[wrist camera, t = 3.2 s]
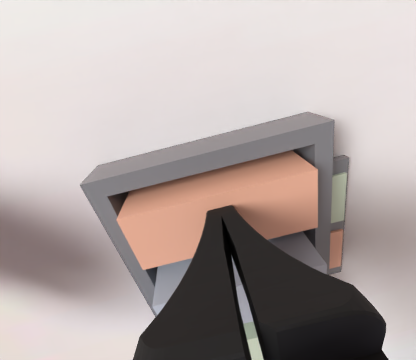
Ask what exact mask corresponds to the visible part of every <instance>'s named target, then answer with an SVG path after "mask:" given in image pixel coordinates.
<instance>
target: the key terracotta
mask: <svg viewBox="0 0 416 360" xmlns="http://www.w3.org/2000/svg"><path fill="white" fill-rule="evenodd" d="M229 205H232V206H234V208H235V209H236V211H237V212H238V213H239V214H240V215H241V216H242V218H243V219H244V220H245V221H246V222H247V223H248V224H249V225H250V226H251V227H253V228H254V229H255V230H256V231H257V232H258V233H259V234H261V235H262V236H263V237H264V238H265V239H267V240H268V239H272V238H276V237H280V236H284V235H289V234H293V233H297V232H301V231H305V230H309V229H313V228H317V227H318V169H317V168H315V167H314V166H312V165H311V164H310V163H308V162H307V161H306V160H304V159H303V158H301V157H300V156H299V155H297V154H296V153H295V152H293V151H292V150H290V151H286V152H282V153H278V154H274V155H270V156H266V157H262V158H258V159H254V160H250V161H246V162H242V163H238V164H234V165H230V166H226V167H222V168H218V169H214V170H210V171H206V172H202V173H198V174H194V175H191V176H187V177H183V178H179V179H175V180H171V181H167V182H163V183H159V184H155V185H151V186H147V187H143V188H139V189H135V190H131V191H130V192H129V194H128V196H127V198H126V200H125V202H124V204H123V206H122V209H121V211H120V213H119V215H118V217H117V219H116V220H117V222H118V224H119V226H120V228H121V230H122V232H123V234H124V235H125V237H126V239H127V241H128V243H129V245H130V247H131V249H132V251H133V252H134V254H135V256H136V258H137V260H138V262H139V264H140V266H141V267H142V269H143V270H146V269H150V268H154V267H158V266H162V265H166V264H170V263H174V262H178V261H182V260H186V259H190V258H193V256H194V254H195V252H196V249H197V246H198V244H199V241H200V238H201V235H202V232H203V228H204V224H205V220H206V213H207V211H209V210H213V209H217V208H221V207H225V206H229Z"/></svg>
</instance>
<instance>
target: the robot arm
mask: <svg viewBox="0 0 416 360" xmlns="http://www.w3.org/2000/svg"><path fill="white" fill-rule="evenodd" d="M231 255H232V256H231ZM232 258H233V261H234V264H235V266H236V269H237V272H238V275H239V278H240V280H241V283H242V286H243V289H244V291H245V294H246V297H247V300H248V303H249V307H250V311H251V314H252V318H253V322H254V326H255V329H256V333H257V337H258V341H259V344H260V348H261V352H262V356H263V359H264V360H388V358H387V357H386V355H385V354H384V353H383V351H382V350H381V349H382V345H383V341H384V337H385V333H386V323H385V321H384V319H383V317H382V316H381V315H380V314H379V312H378V311H377V310H376V309H375V307H374V306H373V305H372V304H371V303H370V302H369V301H368V300H367V299H366V298H365V297H364V296H363V295H362V294H361V293H360V292H359V291H358V290H357V289H356V288H355V287H354V286H353V285H351V284H349V283H346V282H344V281H342V280H339V279H337V278H334V277H332V276H329V275H327V274H324V273H322V272H320V271H318V270H316V269H314V268H312V267H310V266H308V265H306V264H304V263H303V262H301V261H299V260H297V259H295V258H294V257H292V256H290V255H288V254H287V253H285V252H284V251H282V250H281V249H279V248H278V247H276V246H275V245H273V244H272V243H271V242H269V241H268V240H267V239H265V238H264V237H263V236H262V235H261V234H259V233H258V232H257V231H256V230H255V229H254V228H253V227H251V226H250V225H249V224H248V223H247V222H246V221H245V220H244V219H243V218H242V216H241V215H240V214H239V213H238V212H237V211H236V209H235V208H234V206H232V205H229V206H225V207H221V208H217V209H213V210H209V211H207V213H206V220H205V224H204V228H203V232H202V235H201V238H200V241H199V244H198V246H197V249H196V252H195V254H194V256H193V259H192V261H191V263H190V265H189V267H188V269H187V271H186V273H185V274H184V276H183V278H182V280H181V281H180V283H179V285H178V286H177V288H176V290H175V291H174V293H173V294H172V295H171V297H170V298H169V300H168V301H167V303H166V304H165V306H164V307H163V308H162V310H161V311H160V312H159V314H158V315H157V316H156V317H155V319H154V320H153V321H152V322H151V324H150V325H149V326H148V327H147V329H146V330H145V331H144V332H143V333H142V334H141V336H140V337H139V341H138V344H137V348H136V351H135V355H134V358H133V360H252V358H251V354H250V350H249V345H248V341H247V337H246V333H245V329H244V324H243V320H242V316H241V311H240V307H239V302H238V297H237V290H236V283H235V276H234V269H233V263H232Z"/></svg>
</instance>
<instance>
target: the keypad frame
mask: <svg viewBox="0 0 416 360" xmlns="http://www.w3.org/2000/svg"><path fill="white" fill-rule="evenodd" d="M333 146H334V120H332V119H329V118H326V117H323V116H319V115H316V114H313V113H310V112H306V113H302V114H298V115H294V116H290V117H286V118H282V119H278V120H274V121H270V122H266V123H262V124H259V125H255V126H251V127H247V128H243V129H239V130H235V131H231V132H227V133H223V134H219V135H216V136H212V137H208V138H204V139H200V140H196V141H192V142H188V143H184V144H180V145H176V146H172V147H169V148H165V149H161V150H157V151H153V152H149V153H145V154H141V155H137V156H133V157H129V158H126V159H122V160H118V161H114V162H110V163H106V164H102V165H98V166H97V167H96V168H95V169H94V170H93V171H92V172H91V174H90V175H89V176H88V177H87V178H86V179H85V180H84V181H83V182H82V183H81V184H80V186H81V188H82V190H83V192H84V193H85V195H86V197H87V199H88V200H89V202H90V204H91V206H92V207H93V209H94V211H95V212H96V214H97V216H98V218H99V219H100V221H101V223H102V225H103V226H104V228H105V230H106V232H107V233H108V235H109V237H110V239H111V240H112V242H113V244H114V246H115V247H116V249H117V251H118V252H119V254H120V256H121V258H122V259H123V261H124V263H125V265H126V266H127V268H128V270H129V272H130V273H131V275H132V277H133V279H134V280H135V282H136V284H137V286H138V287H139V289H140V291H141V293H142V294H143V296H144V298H145V299H146V301H147V303H148V305H149V306H150V308H151V310H152V312H153V313H154V315H155V317H156V316H157V314H156V312H155V310H154V309H153V307H152V305H153V298H154V291H155V284H156V277H157V269H158V267H154V268H150V269H146V270H143V269H142V267H141V266H140V264H139V262H138V260H137V258H136V256H135V254H134V252H133V251H132V249H131V247H130V245H129V243H128V241H127V239H126V237H125V235H124V234H123V232H122V230H121V228H120V226H119V224H118V222H117V220H116V219H117V217H118V215H119V213H120V211H121V209H122V206H123V204H124V202H125V200H126V198H127V196H128V194H129V193H128V191H131V190H135V189H139V188H143V187H147V186H151V185H155V184H159V183H163V182H167V181H171V180H175V179H179V178H183V177H187V176H191V175H194V174H198V173H202V172H206V171H210V170H214V169H218V168H222V167H226V166H230V165H234V164H238V163H242V162H246V161H250V160H254V159H258V158H262V157H266V156H270V155H274V154H278V153H282V152H286V151H290V150H294V152H295V153H296V154H297V155H299V156H300V157H301V158H303V159H304V160H306V161H307V162H308V163H310V164H311V165H312V166H314V167H315V168H317V169H318V227H317V228H313V229H309V230H305V231H303V233H304V234H305V235H306V237H307V238H308V239H309V241H310V242H311V243H312V245H313V246H314V247H315V249H316V250H317V252H318V253H319V254H320V256H321V257H322V258H323V260H324V261H325V262H326V264H327V275H329V263H330V234H331V204H332V175H333Z"/></svg>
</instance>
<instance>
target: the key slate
mask: <svg viewBox="0 0 416 360" xmlns="http://www.w3.org/2000/svg"><path fill="white" fill-rule="evenodd" d="M268 241H269V242H271V243H272V244H273V245H275V246H276V247H278V248H279V249H281V250H282V251H284V252H285V253H287V254H288V255H290V256H292V257H294V258H295V259H297V260H299V261H301V262H303V263H304V264H306V265H308V266H310V267H312V268H314V269H316V270H318V271H320V272H322V273H324V274H327V264H326V262H325V261H324V260H323V258H322V257H321V256H320V254H319V253H318V252H317V250H316V249H315V247H314V246H313V245H312V243H311V242H310V241H309V239H308V238H307V237H306V235H305V234H304V233H303V231H301V232H297V233H293V234H289V235H284V236H280V237H276V238H272V239H268ZM231 256H232V255H231ZM192 259H193V258H190V259H186V260H182V261H178V262H174V263H170V264H166V265H162V266H158V269H157V277H156V284H155V291H154V298H153V305H152V307H153V309H154V310H155V312H156V314H157V315H158V314H159V312H160V311H161V310H162V308H163V307H164V306H165V304H166V303H167V301H168V300H169V298H170V297H171V295H172V294H173V293H174V291H175V290H176V288H177V286H178V285H179V283H180V281H181V280H182V278H183V276H184V274H185V273H186V271H187V269H188V267H189V265H190V263H191V261H192ZM232 263H233V269H234V276H235V283H236V290H237V297H238V302H239V307H240V311H241V316H242V320H243V324H244V323H248V322H253V318H252V314H251V311H250V307H249V303H248V300H247V297H246V294H245V291H244V289H243V286H242V283H241V280H240V278H239V275H238V272H237V269H236V266H235V264H234V261H233V258H232Z"/></svg>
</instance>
